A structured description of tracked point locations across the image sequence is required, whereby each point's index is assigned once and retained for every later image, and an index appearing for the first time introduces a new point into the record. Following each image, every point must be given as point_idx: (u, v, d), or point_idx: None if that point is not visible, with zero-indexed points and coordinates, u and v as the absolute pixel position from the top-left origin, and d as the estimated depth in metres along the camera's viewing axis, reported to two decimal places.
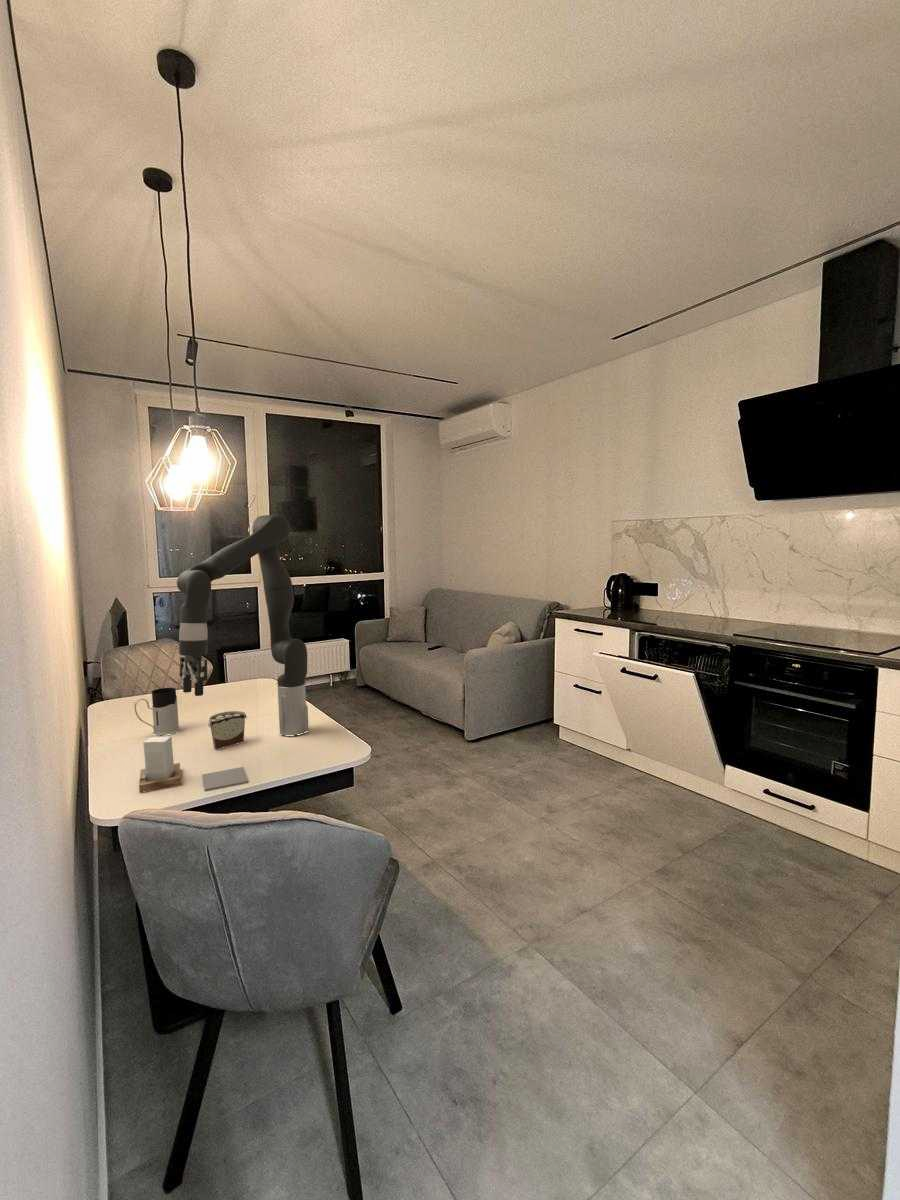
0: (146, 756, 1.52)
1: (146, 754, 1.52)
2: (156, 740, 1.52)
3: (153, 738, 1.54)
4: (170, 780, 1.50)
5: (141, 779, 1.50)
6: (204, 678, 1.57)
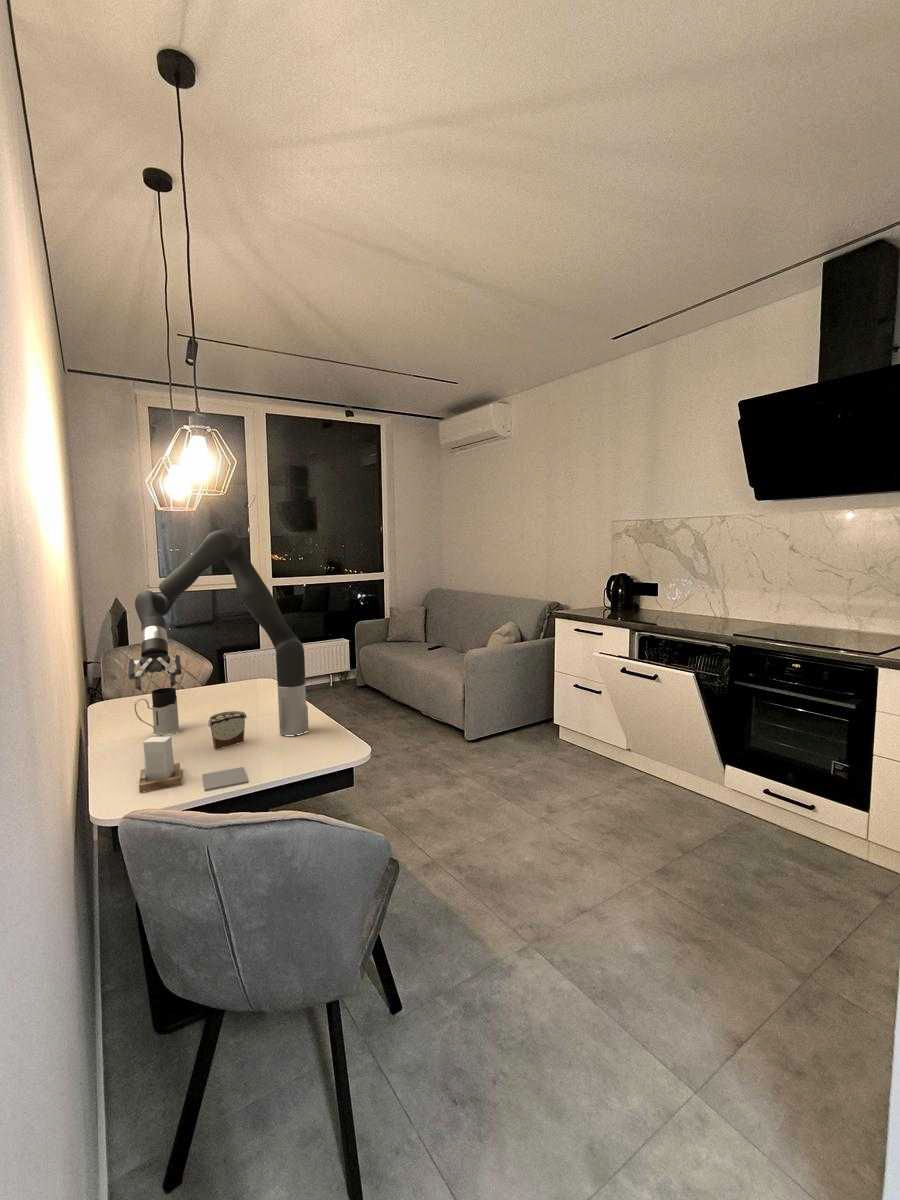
0: (146, 756, 1.52)
1: (146, 754, 1.52)
2: (156, 740, 1.52)
3: (153, 738, 1.54)
4: (170, 780, 1.50)
5: (141, 779, 1.50)
6: (128, 674, 1.65)
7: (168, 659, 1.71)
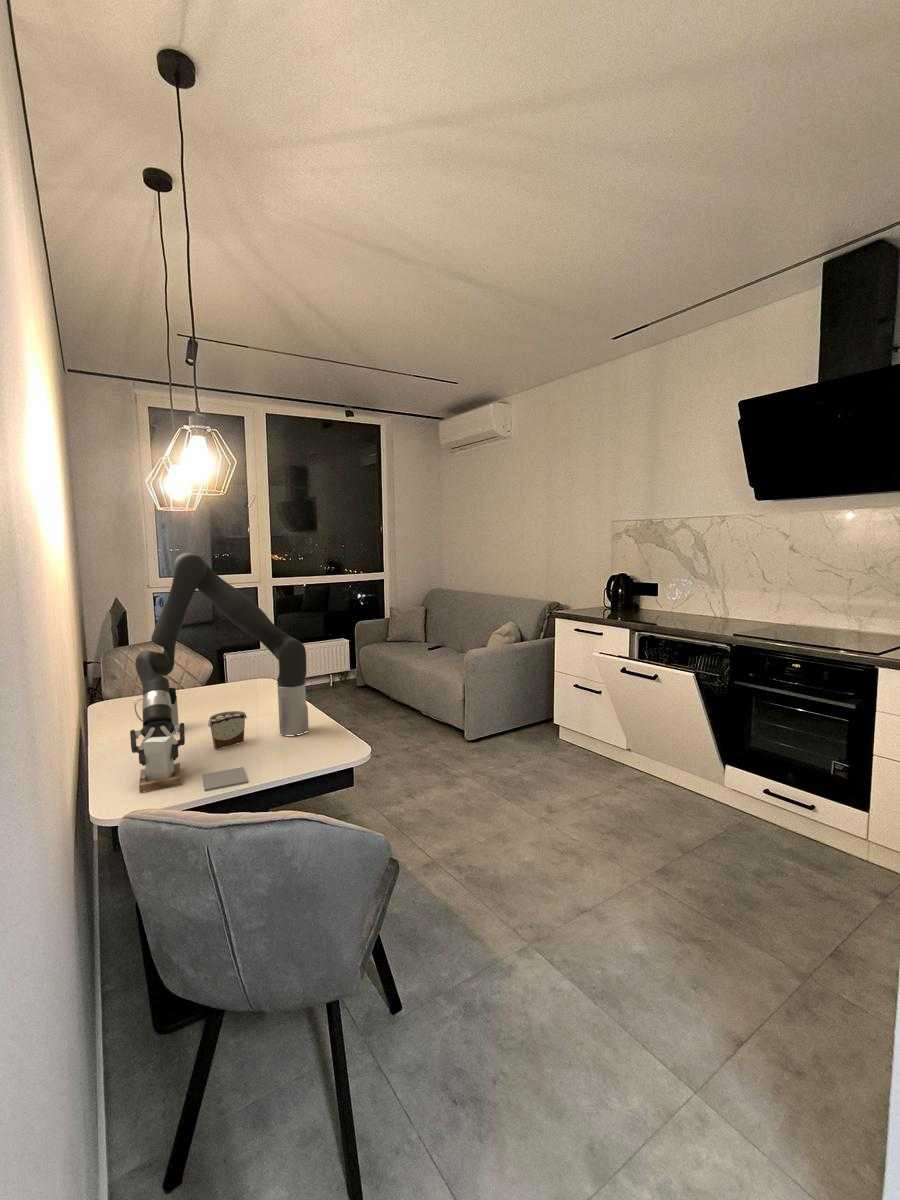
0: (146, 756, 1.52)
1: (146, 754, 1.52)
2: (156, 740, 1.52)
3: (153, 738, 1.54)
4: (170, 780, 1.50)
5: (141, 779, 1.50)
6: None
7: (172, 727, 1.59)
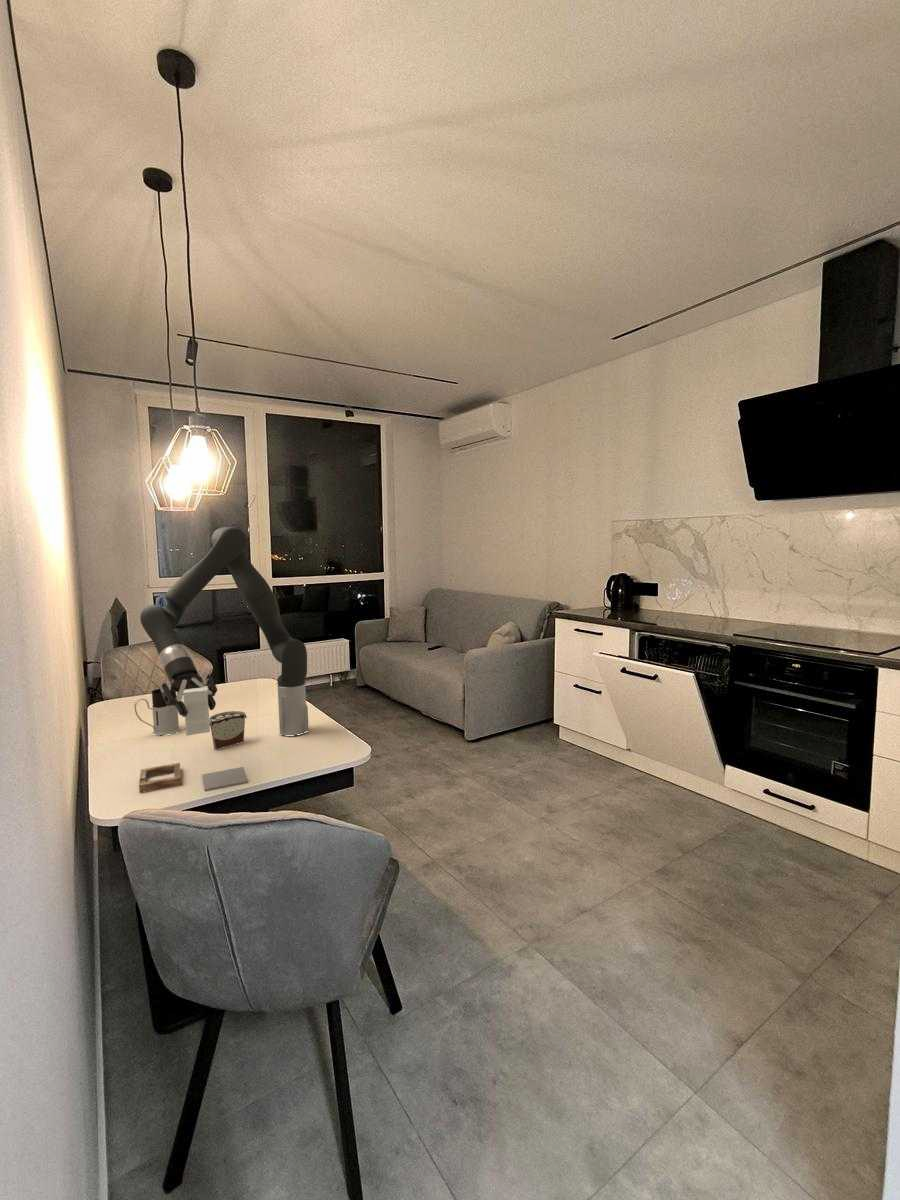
0: (186, 707, 1.49)
1: (186, 705, 1.49)
2: (196, 690, 1.50)
3: (189, 689, 1.51)
4: (170, 780, 1.50)
5: (141, 779, 1.50)
6: (168, 700, 1.48)
7: (201, 679, 1.57)
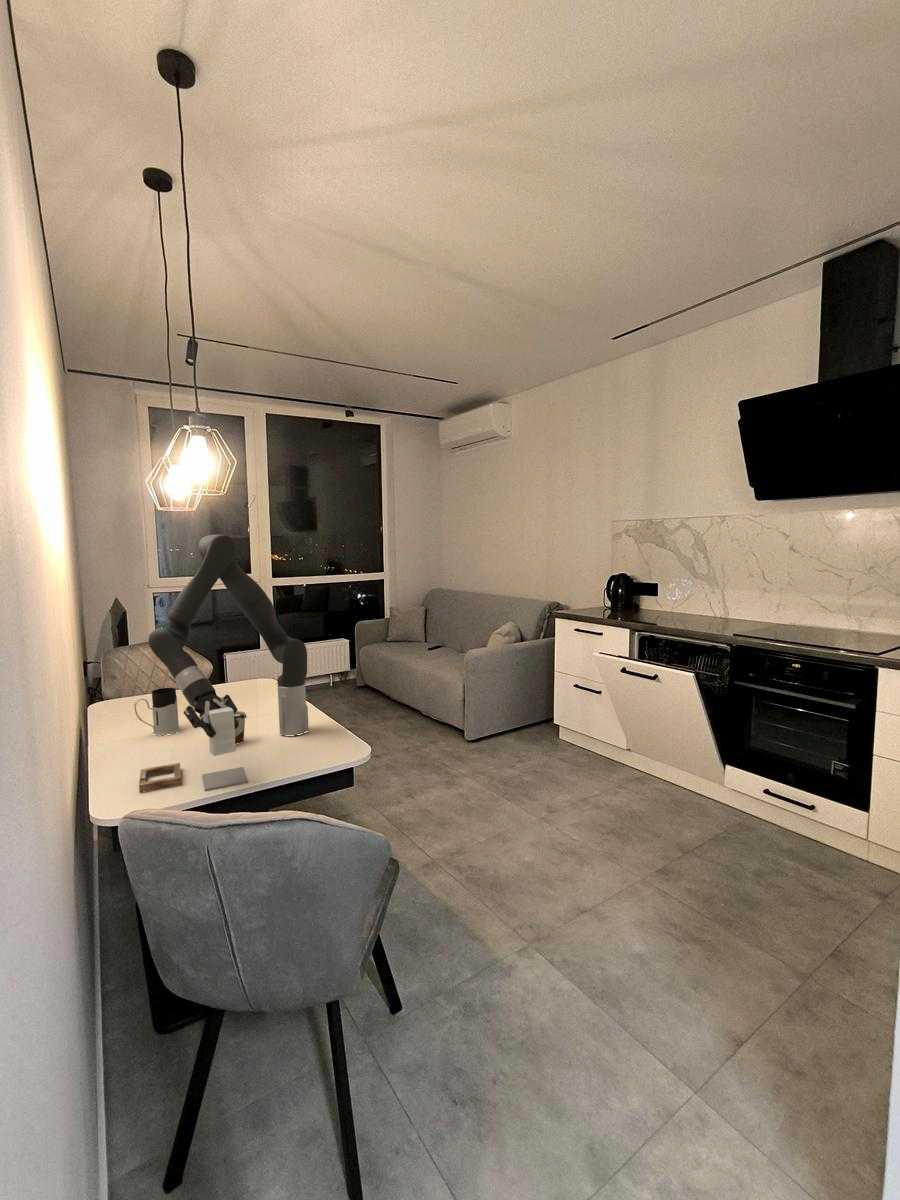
0: (214, 728, 1.50)
1: (214, 726, 1.50)
2: (222, 711, 1.52)
3: (213, 710, 1.52)
4: (170, 780, 1.50)
5: (141, 779, 1.50)
6: (195, 723, 1.48)
7: (220, 700, 1.58)
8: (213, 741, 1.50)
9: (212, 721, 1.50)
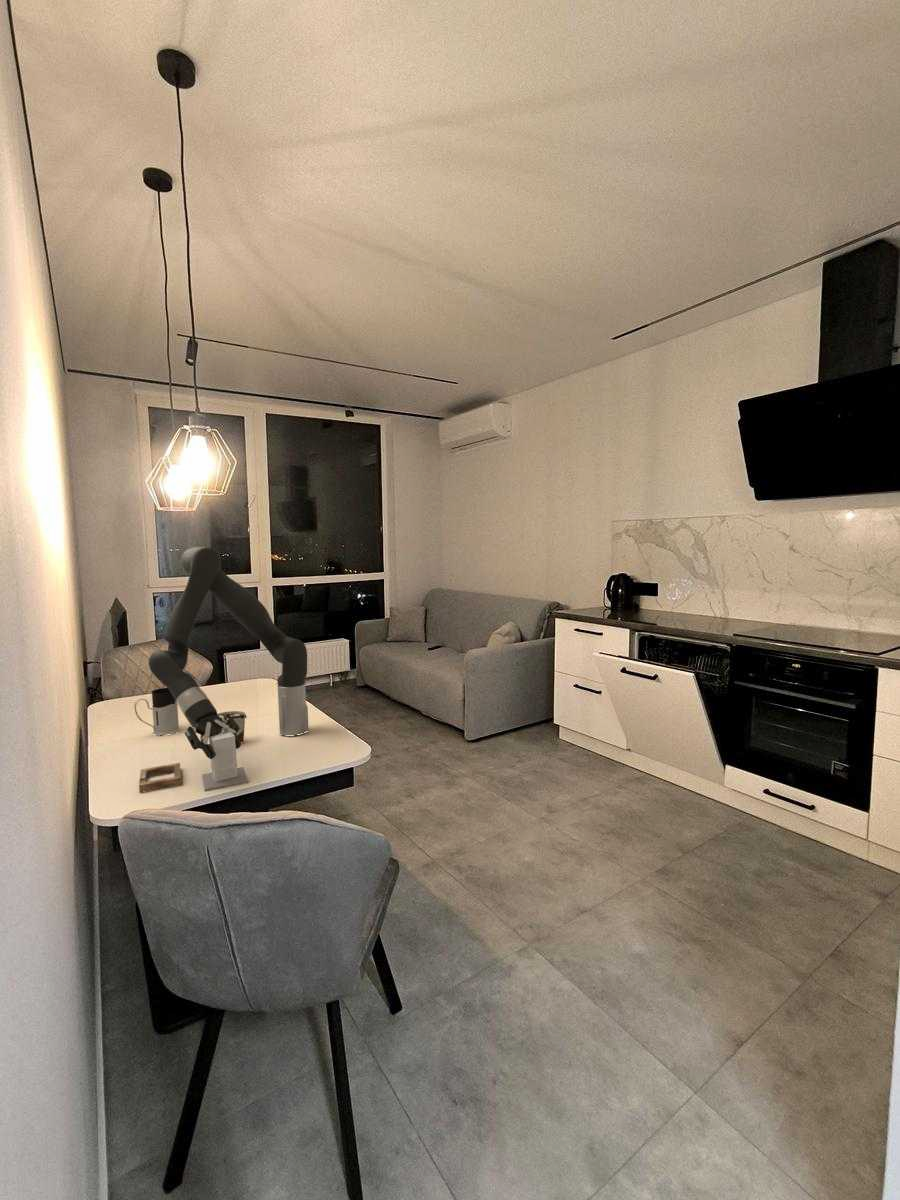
0: (216, 754, 1.51)
1: (216, 752, 1.51)
2: (224, 737, 1.53)
3: (215, 736, 1.53)
4: (170, 780, 1.50)
5: (141, 779, 1.50)
6: (195, 744, 1.48)
7: (222, 720, 1.59)
8: (215, 767, 1.51)
9: (213, 747, 1.51)
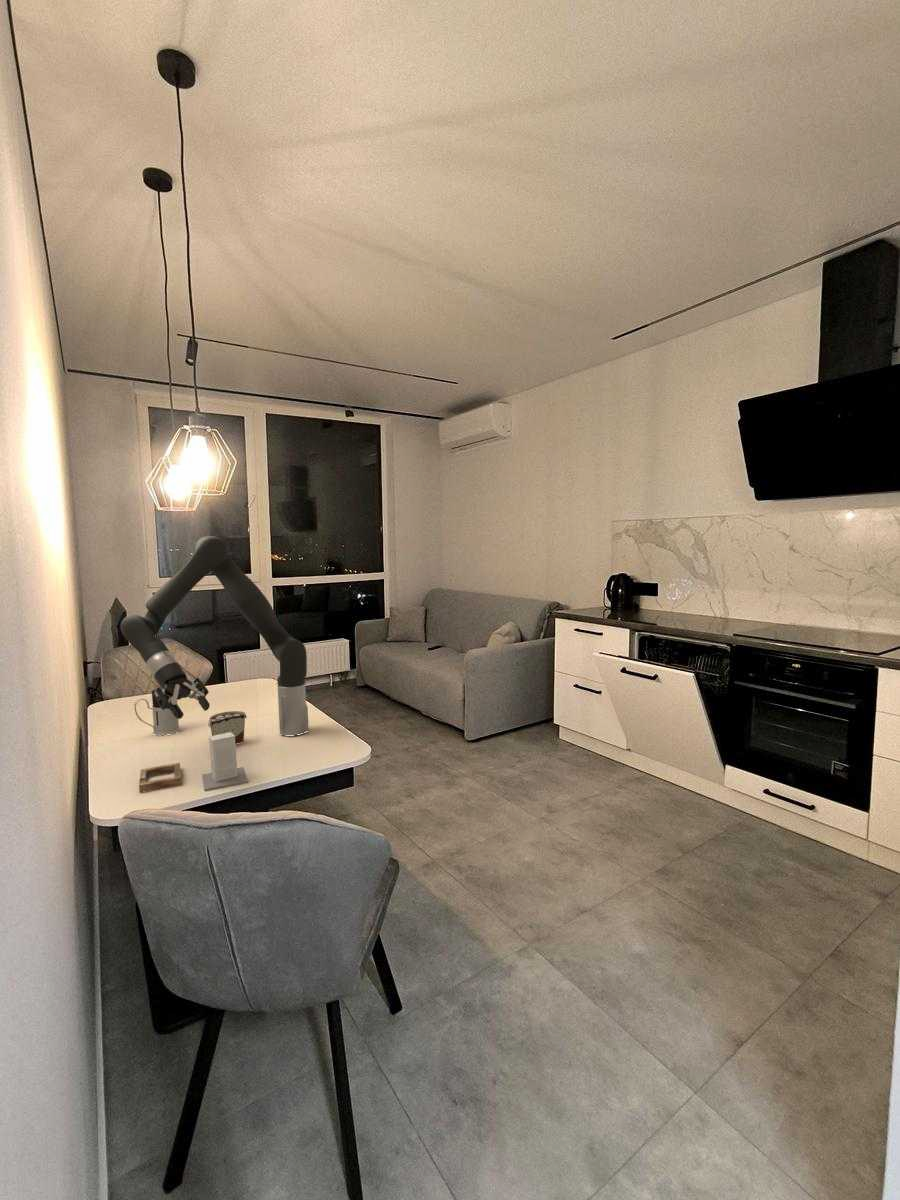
0: (216, 754, 1.51)
1: (216, 752, 1.51)
2: (224, 737, 1.53)
3: (215, 736, 1.53)
4: (170, 780, 1.50)
5: (141, 779, 1.50)
6: (163, 704, 1.53)
7: (191, 683, 1.63)
8: (215, 767, 1.51)
9: (213, 747, 1.51)
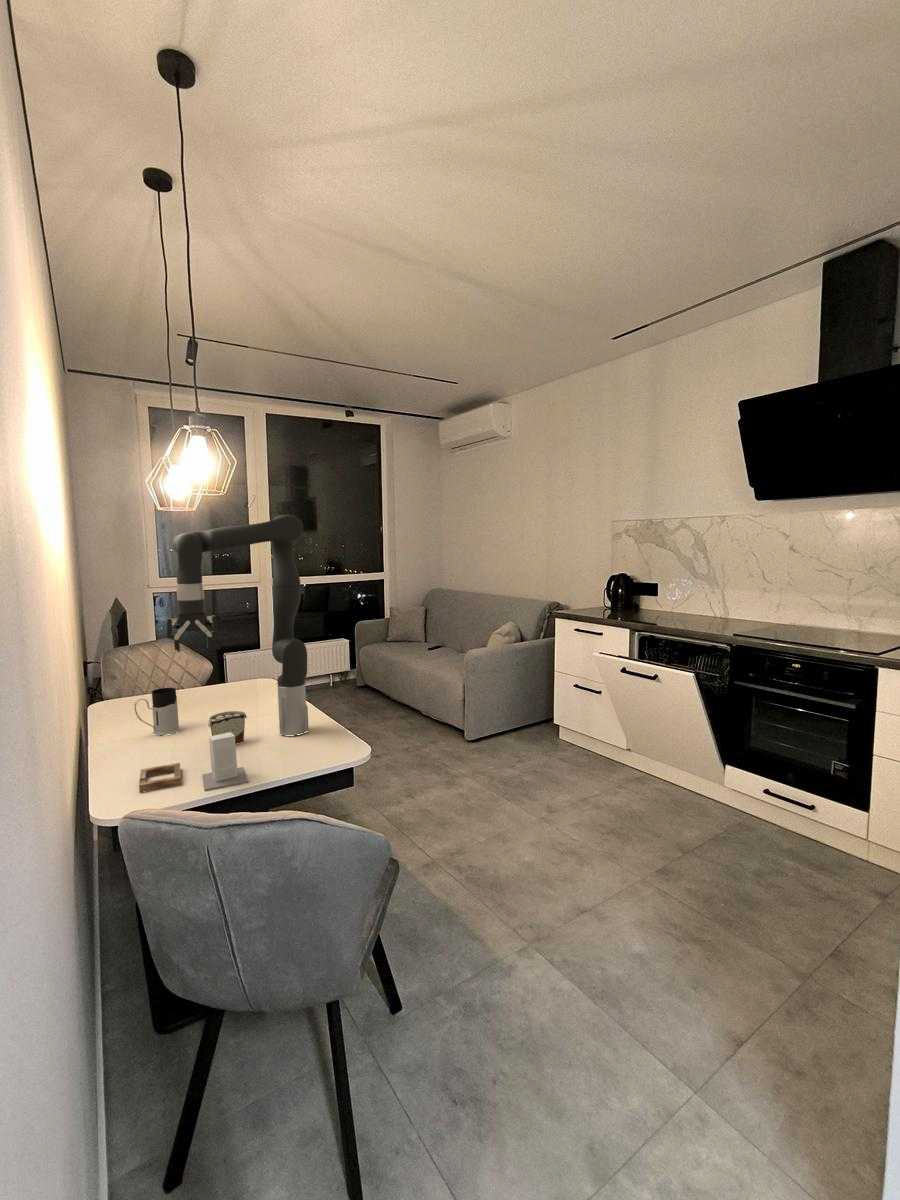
0: (216, 754, 1.51)
1: (216, 752, 1.51)
2: (224, 737, 1.53)
3: (215, 736, 1.53)
4: (170, 780, 1.50)
5: (141, 779, 1.50)
6: (167, 635, 1.67)
7: (205, 620, 1.71)
8: (215, 767, 1.51)
9: (213, 747, 1.51)
